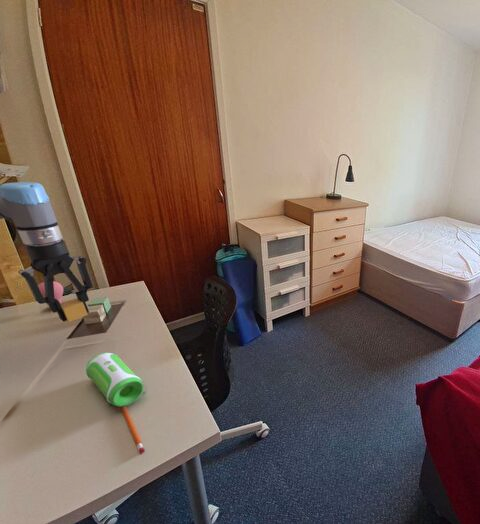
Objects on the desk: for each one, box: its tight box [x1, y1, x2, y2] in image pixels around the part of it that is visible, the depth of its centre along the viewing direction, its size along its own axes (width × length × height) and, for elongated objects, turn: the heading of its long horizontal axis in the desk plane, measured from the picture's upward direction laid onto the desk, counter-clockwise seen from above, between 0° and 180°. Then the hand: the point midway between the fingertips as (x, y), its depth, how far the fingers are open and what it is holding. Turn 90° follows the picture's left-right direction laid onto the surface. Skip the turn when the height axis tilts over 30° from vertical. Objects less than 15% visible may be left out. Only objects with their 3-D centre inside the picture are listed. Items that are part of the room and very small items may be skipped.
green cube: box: [87, 296, 112, 313], centre depth 104 cm, size 4×4×4 cm
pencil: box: [119, 406, 145, 454], centre depth 65 cm, size 1×19×1 cm, turn 49°
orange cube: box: [60, 297, 88, 323], centre depth 83 cm, size 4×4×4 cm
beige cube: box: [82, 305, 106, 324], centre depth 99 cm, size 4×4×4 cm
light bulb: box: [37, 280, 64, 306], centre depth 104 cm, size 7×7×12 cm
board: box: [66, 302, 125, 340], centre depth 100 cm, size 12×20×1 cm, turn 22°
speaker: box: [85, 352, 144, 408], centre depth 73 cm, size 18×7×8 cm, turn 56°
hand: (74, 315), depth 84 cm, fingers closed on orange cube, 4 cm apart
